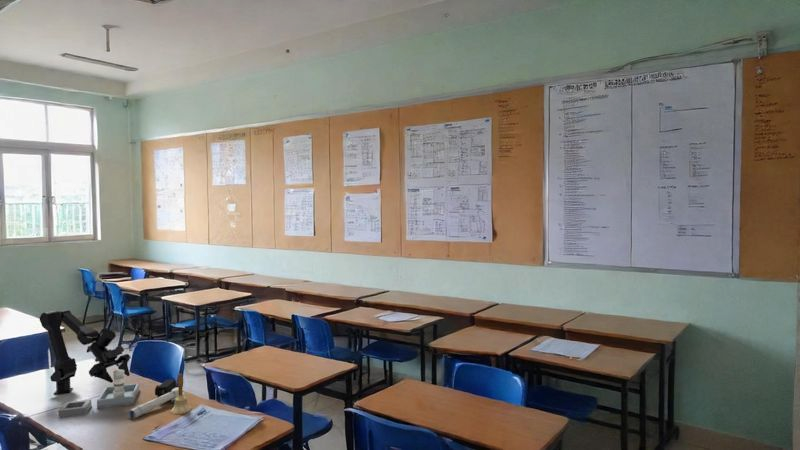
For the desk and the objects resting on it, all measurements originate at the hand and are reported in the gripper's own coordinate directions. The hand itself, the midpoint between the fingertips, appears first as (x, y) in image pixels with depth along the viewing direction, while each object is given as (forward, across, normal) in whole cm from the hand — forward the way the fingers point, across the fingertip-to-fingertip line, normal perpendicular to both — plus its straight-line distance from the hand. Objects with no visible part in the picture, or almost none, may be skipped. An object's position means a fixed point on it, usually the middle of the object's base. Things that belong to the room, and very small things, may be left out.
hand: (120, 378), depth 234 cm
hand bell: (+32, -3, -18) cm, 37 cm away
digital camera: (+20, +7, -6) cm, 22 cm away
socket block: (+2, -17, +12) cm, 21 cm away
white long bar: (+24, -4, -10) cm, 26 cm away
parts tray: (+6, 0, +8) cm, 10 cm away
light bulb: (+5, 0, +7) cm, 9 cm away
